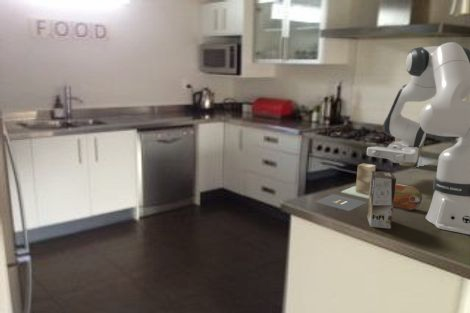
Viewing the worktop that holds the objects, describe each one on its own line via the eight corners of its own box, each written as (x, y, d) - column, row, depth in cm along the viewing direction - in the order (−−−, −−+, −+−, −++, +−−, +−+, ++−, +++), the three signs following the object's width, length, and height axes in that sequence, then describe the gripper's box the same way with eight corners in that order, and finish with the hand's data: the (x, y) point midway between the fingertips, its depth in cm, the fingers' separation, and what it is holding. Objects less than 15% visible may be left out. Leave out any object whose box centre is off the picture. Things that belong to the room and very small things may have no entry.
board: (387, 194, 163) (387, 193, 163) (374, 200, 154) (374, 199, 154) (354, 187, 172) (355, 185, 172) (340, 193, 164) (340, 191, 163)
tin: (375, 204, 151) (377, 181, 149) (378, 201, 154) (380, 180, 152) (419, 212, 143) (422, 189, 141) (421, 209, 146) (424, 186, 144)
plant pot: (391, 160, 225) (394, 132, 222) (421, 163, 220) (424, 133, 217) (391, 166, 212) (394, 135, 208) (423, 169, 207) (427, 138, 203)
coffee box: (391, 229, 127) (396, 178, 124) (369, 227, 128) (374, 177, 125) (387, 219, 136) (391, 171, 132) (366, 217, 137) (371, 170, 134)
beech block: (373, 192, 163) (375, 165, 161) (367, 194, 160) (369, 167, 157) (361, 189, 167) (363, 163, 164) (355, 192, 163) (357, 165, 161)
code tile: (367, 202, 152) (367, 202, 152) (348, 211, 142) (348, 210, 142) (333, 194, 161) (333, 193, 161) (314, 202, 151) (314, 201, 151)
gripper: (374, 142, 185) (360, 145, 175) (422, 148, 171) (409, 151, 161) (373, 156, 186) (359, 159, 176) (420, 162, 173) (408, 167, 163)
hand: (384, 156), depth 169 cm, fingers open, 8 cm apart
